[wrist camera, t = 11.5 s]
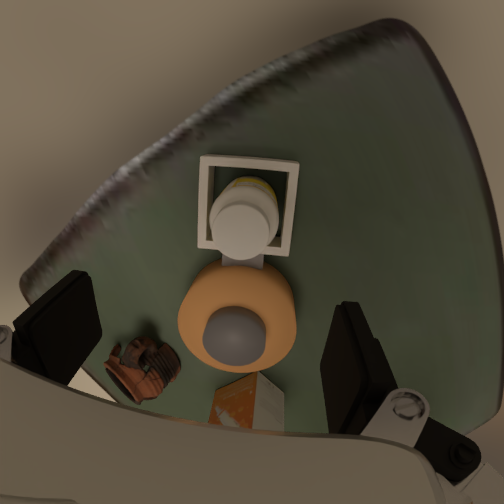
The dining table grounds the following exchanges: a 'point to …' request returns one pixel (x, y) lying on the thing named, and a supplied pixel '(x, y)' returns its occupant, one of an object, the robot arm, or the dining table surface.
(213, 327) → the disc and frame
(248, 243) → the supplement bottle
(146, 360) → the brown curved piece
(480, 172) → the dining table surface
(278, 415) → the small box
